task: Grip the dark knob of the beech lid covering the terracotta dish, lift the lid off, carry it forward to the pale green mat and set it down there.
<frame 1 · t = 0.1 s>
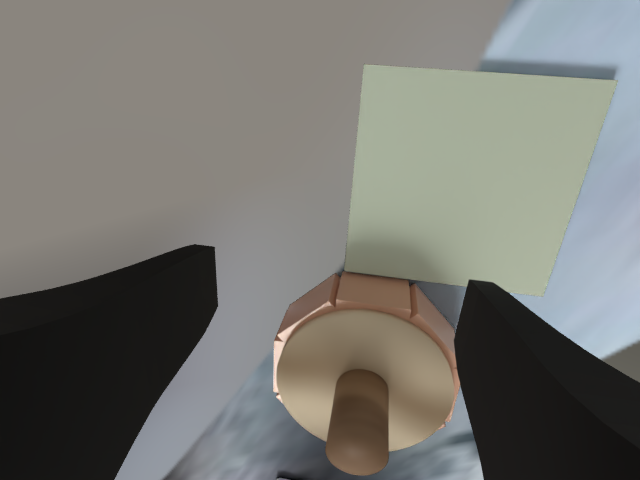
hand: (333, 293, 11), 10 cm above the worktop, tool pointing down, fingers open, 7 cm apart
lid: (362, 381, 21), point 3 cm above the worktop, touching dish
dish: (365, 346, 24), on the worktop
mat: (459, 187, 19), on the worktop
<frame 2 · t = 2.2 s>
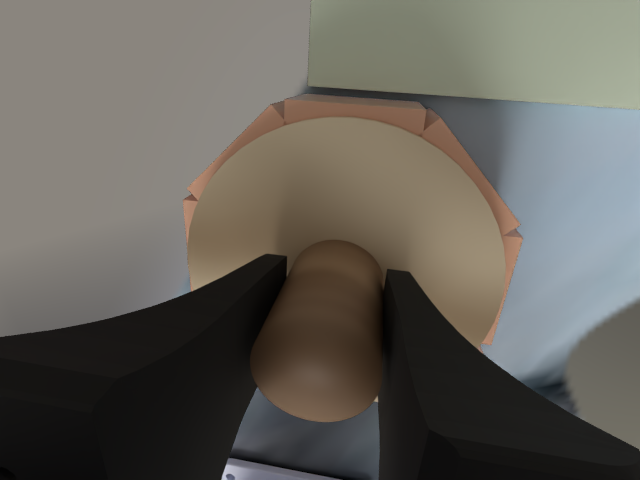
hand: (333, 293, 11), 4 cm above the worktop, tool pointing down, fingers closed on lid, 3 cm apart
lid: (338, 273, 12), point 3 cm above the worktop, touching dish, gripper
dish: (347, 236, 15), on the worktop
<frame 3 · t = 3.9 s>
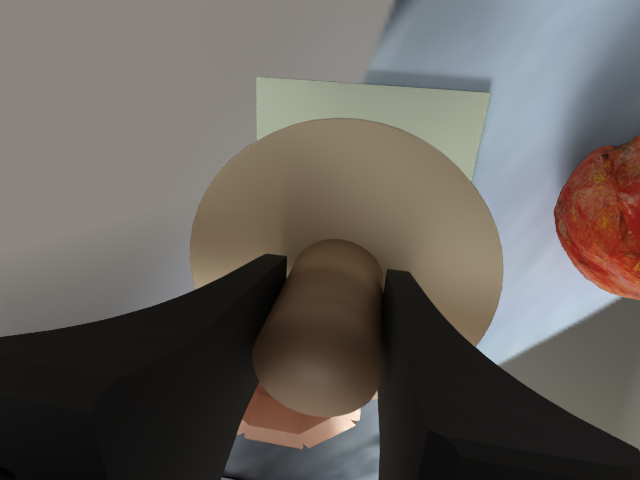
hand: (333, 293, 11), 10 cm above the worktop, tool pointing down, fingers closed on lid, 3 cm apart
lid: (339, 272, 12), point 8 cm above the worktop, touching gripper
dish: (286, 347, 25), on the worktop
pomegranate: (617, 184, 18), on the worktop
mat: (358, 194, 20), on the worktop
when the fingers open (3 cm above the worktop, at t = 5.9 s): lid stays where it is, resting on mat.
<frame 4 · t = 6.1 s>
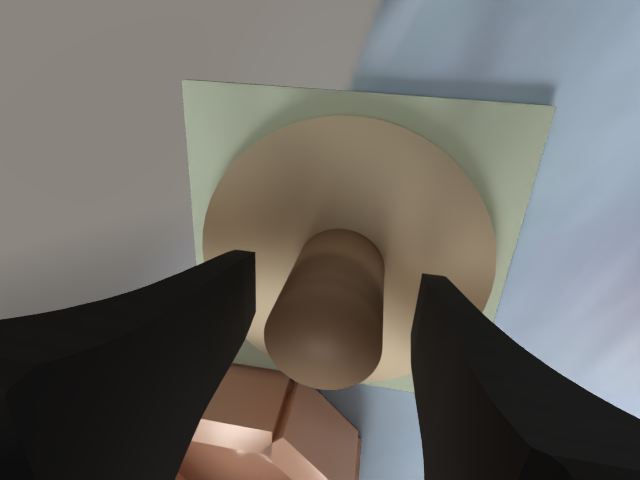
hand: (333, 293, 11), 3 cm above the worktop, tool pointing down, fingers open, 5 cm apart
lid: (342, 260, 13), resting on mat
dish: (250, 446, 18), on the worktop
mat: (343, 254, 13), on the worktop
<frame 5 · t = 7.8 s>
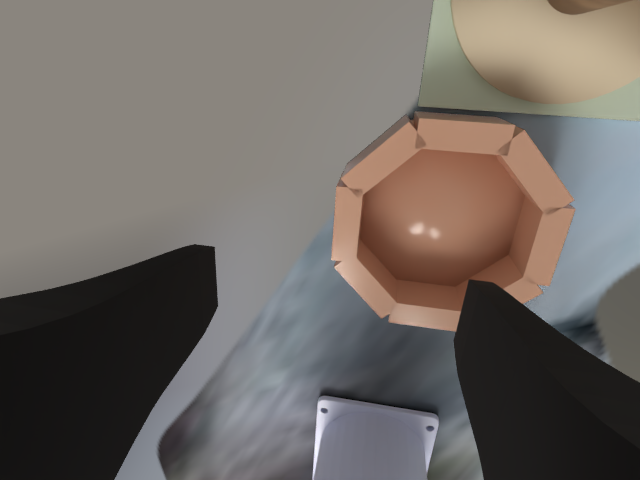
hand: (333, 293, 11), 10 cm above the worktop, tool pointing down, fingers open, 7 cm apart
dish: (436, 214, 20), on the worktop
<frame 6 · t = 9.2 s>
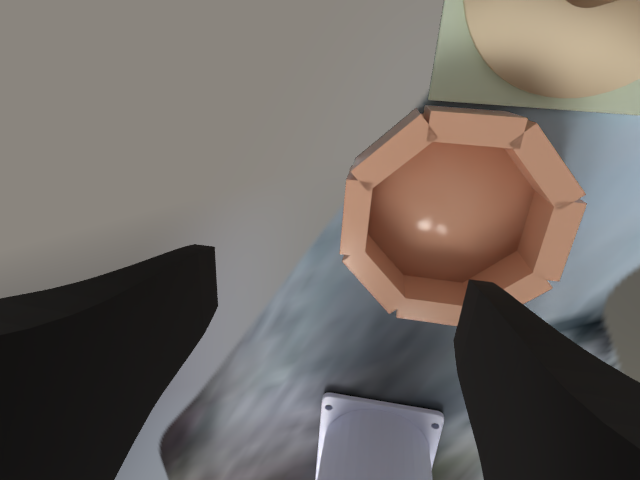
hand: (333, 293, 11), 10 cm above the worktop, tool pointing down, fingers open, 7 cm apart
dish: (444, 209, 20), on the worktop
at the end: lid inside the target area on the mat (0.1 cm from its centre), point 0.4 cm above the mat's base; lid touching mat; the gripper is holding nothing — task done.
